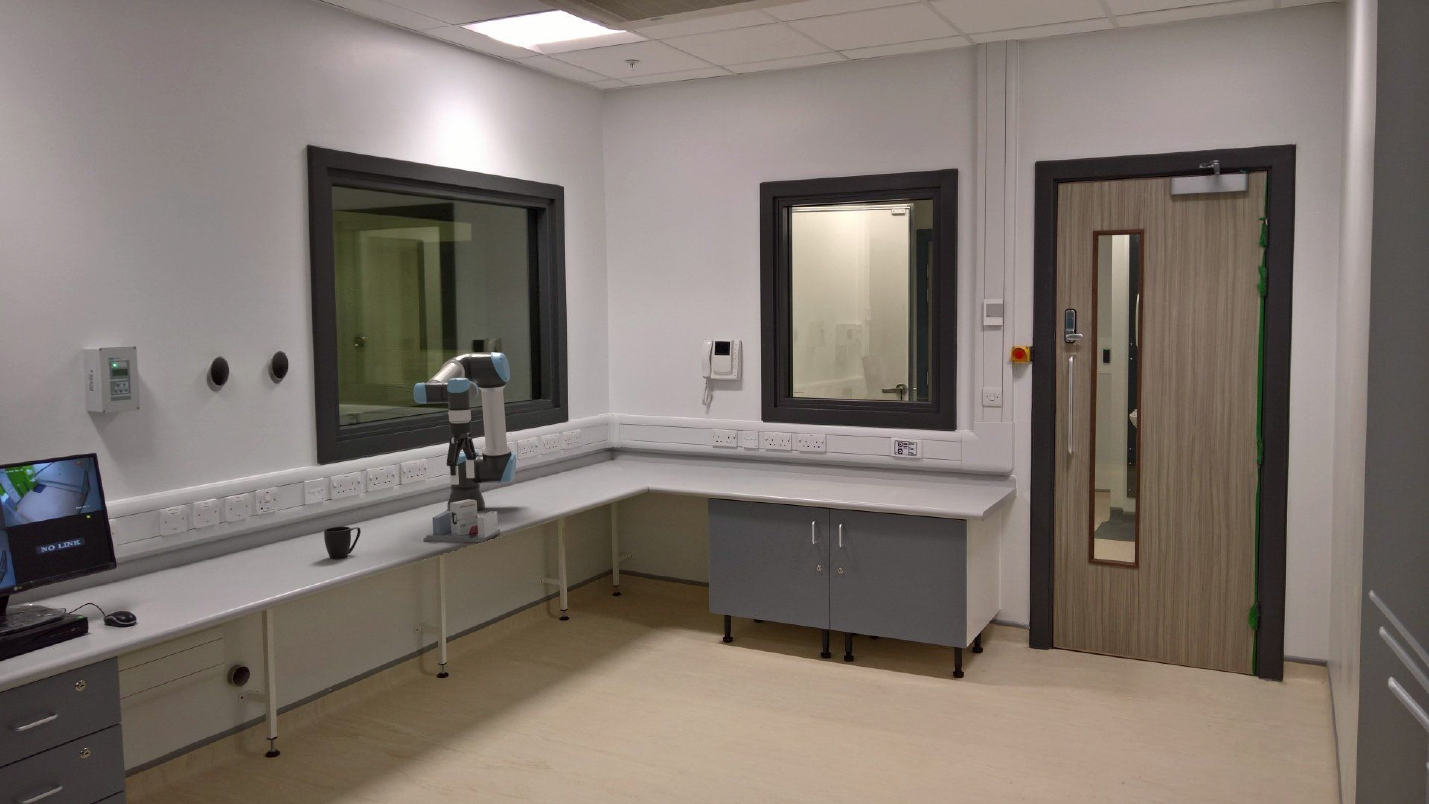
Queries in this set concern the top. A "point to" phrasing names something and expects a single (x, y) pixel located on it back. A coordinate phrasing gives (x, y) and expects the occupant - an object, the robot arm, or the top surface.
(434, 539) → the base
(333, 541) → the mug
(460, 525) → the ink box
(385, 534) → the top surface
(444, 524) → the block
